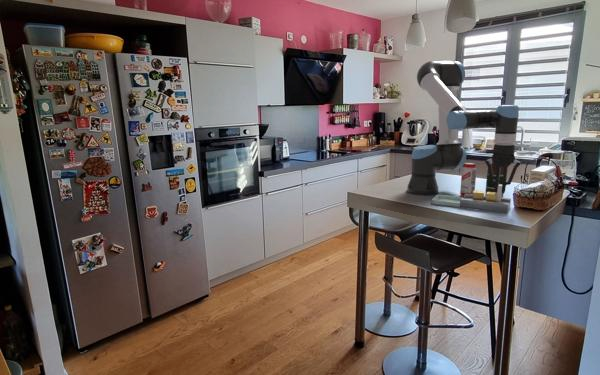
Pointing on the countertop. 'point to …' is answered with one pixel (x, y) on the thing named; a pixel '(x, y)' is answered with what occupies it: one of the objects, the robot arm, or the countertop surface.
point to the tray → (446, 200)
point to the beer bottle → (490, 186)
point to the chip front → (491, 196)
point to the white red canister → (468, 178)
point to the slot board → (485, 204)
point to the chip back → (478, 195)
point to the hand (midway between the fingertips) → (498, 200)
